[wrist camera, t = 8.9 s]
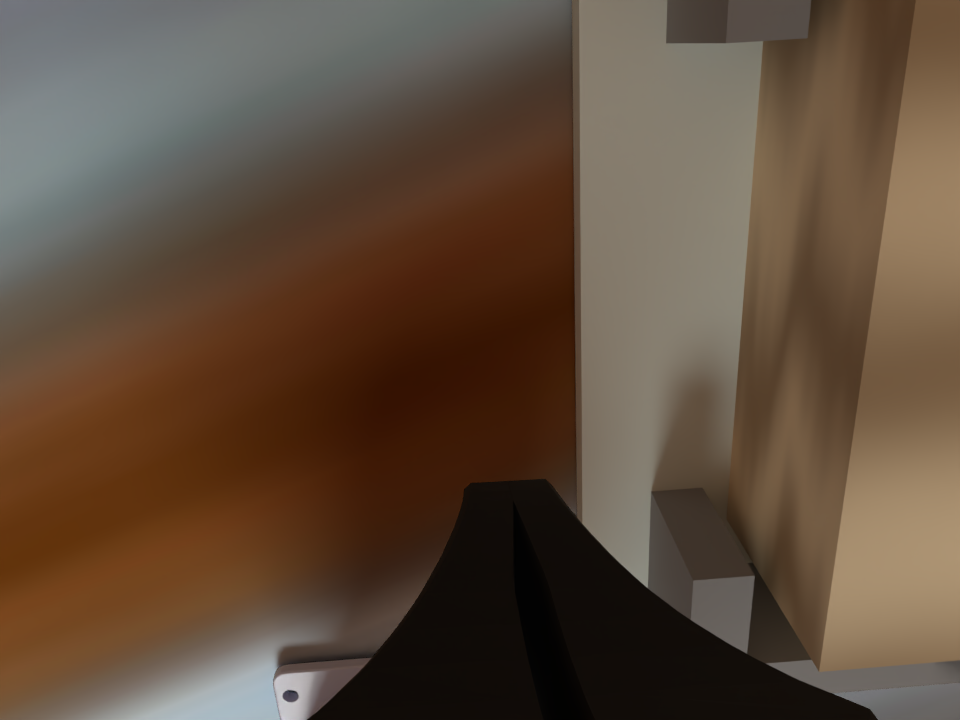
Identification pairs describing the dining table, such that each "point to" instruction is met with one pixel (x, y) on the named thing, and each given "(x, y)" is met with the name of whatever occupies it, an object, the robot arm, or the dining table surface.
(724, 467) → the cradle
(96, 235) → the dining table surface
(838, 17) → the wooden block
